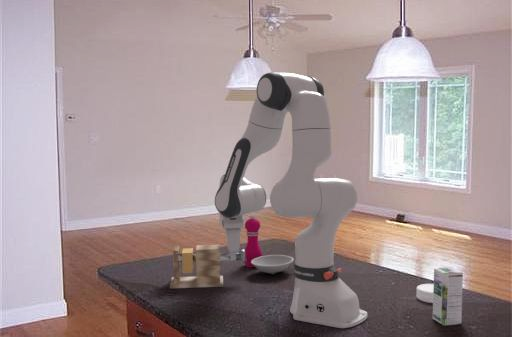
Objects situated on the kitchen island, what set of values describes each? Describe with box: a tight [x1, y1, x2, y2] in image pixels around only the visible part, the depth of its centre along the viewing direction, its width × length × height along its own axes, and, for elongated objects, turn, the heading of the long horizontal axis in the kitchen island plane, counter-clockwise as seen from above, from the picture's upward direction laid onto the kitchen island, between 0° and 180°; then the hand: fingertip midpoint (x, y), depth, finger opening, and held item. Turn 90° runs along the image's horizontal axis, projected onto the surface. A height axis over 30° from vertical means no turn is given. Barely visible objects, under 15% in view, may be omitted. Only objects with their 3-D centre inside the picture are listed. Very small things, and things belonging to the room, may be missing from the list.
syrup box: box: [432, 266, 464, 327], centre depth 148 cm, size 6×6×14 cm
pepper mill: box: [244, 214, 263, 268], centre depth 209 cm, size 7×7×20 cm
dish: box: [251, 254, 295, 275], centre depth 198 cm, size 18×14×5 cm
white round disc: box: [415, 283, 434, 304], centre depth 168 cm, size 10×10×4 cm
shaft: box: [172, 248, 246, 264], centre depth 187 cm, size 25×5×5 cm, turn 94°
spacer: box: [181, 247, 195, 274], centre depth 186 cm, size 4×7×7 cm, turn 4°
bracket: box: [169, 244, 224, 289], centre depth 187 cm, size 18×10×13 cm, turn 94°
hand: (232, 258), depth 188 cm, fingers closed on shaft, 3 cm apart
